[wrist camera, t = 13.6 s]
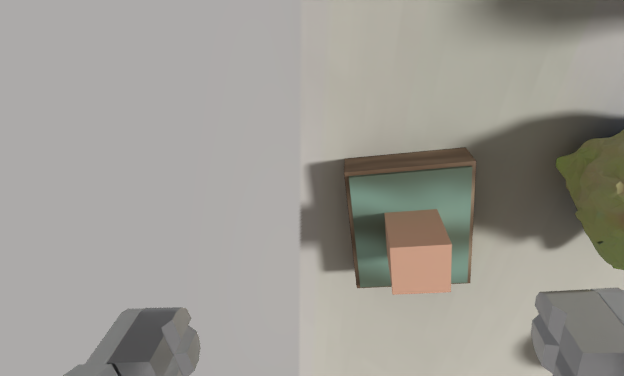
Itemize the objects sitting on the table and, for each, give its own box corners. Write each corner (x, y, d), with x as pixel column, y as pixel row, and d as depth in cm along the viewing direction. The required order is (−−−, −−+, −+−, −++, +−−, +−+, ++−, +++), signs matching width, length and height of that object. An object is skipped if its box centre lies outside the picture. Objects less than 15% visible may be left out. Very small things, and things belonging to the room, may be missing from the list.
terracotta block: (384, 212, 37) (389, 247, 32) (437, 209, 37) (451, 244, 31) (387, 254, 39) (392, 294, 34) (436, 252, 39) (450, 292, 33)
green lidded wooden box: (344, 158, 39) (344, 174, 36) (465, 147, 38) (477, 162, 34) (356, 267, 45) (356, 290, 42) (461, 262, 44) (471, 285, 40)
